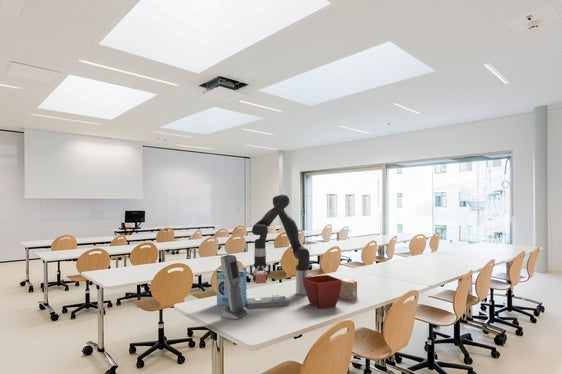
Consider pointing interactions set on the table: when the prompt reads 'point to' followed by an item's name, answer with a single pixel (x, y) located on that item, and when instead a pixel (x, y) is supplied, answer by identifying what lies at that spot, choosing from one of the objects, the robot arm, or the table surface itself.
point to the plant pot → (322, 290)
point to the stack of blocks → (348, 289)
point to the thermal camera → (232, 288)
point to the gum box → (222, 288)
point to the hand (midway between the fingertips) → (260, 280)
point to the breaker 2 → (275, 297)
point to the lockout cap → (260, 278)
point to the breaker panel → (267, 302)
